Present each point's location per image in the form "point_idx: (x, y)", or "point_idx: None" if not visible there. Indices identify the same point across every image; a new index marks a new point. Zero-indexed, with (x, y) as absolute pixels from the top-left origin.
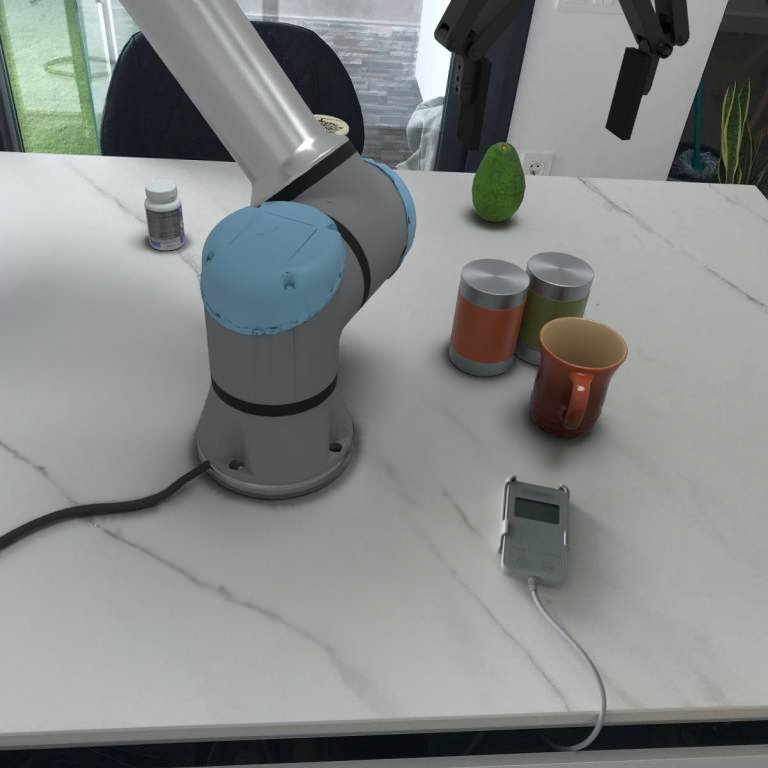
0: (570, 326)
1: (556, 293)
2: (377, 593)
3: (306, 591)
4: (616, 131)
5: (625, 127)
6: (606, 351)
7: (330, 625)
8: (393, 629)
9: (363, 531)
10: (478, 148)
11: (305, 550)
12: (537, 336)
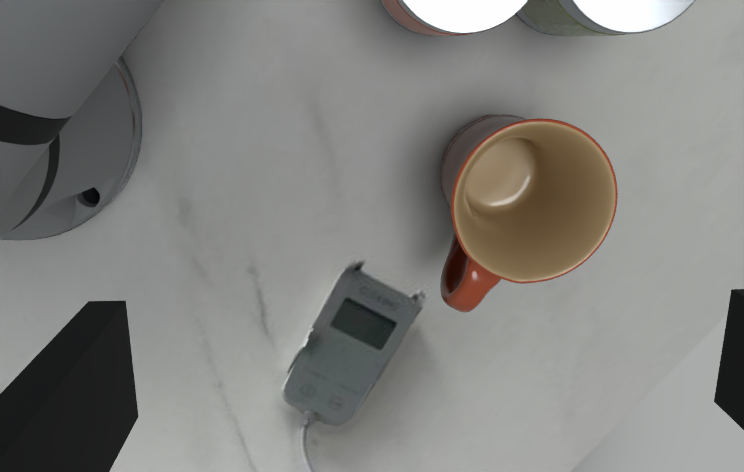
0: (549, 131)
1: (583, 21)
2: None
3: None
4: (730, 365)
5: (742, 425)
6: (585, 190)
7: None
8: (129, 435)
9: None
10: (135, 418)
11: (42, 316)
12: (535, 14)
